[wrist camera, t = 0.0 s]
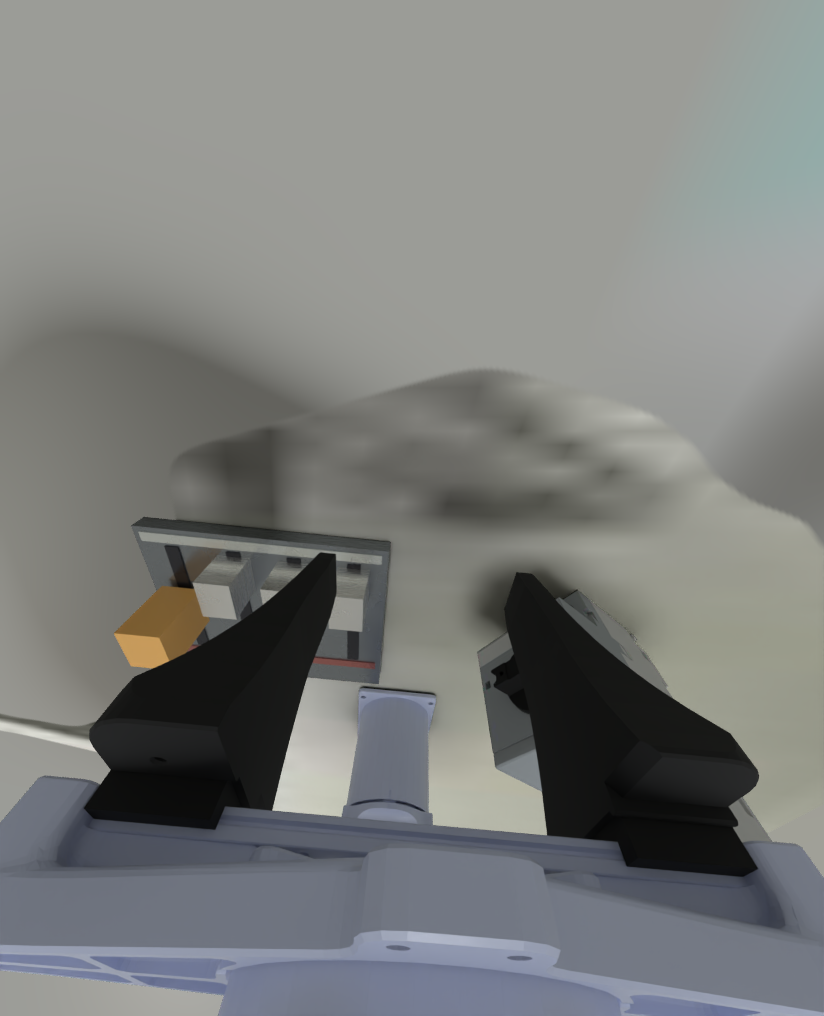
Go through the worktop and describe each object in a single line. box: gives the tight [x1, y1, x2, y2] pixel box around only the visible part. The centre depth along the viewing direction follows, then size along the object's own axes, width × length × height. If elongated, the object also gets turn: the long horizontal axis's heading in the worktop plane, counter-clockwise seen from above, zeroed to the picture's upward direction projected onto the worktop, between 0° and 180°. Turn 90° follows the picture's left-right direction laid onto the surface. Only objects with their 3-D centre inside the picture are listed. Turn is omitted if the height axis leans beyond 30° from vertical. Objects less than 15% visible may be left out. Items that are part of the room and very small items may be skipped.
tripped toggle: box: [114, 586, 210, 668], centre depth 24 cm, size 4×3×4 cm
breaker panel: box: [131, 517, 390, 684], centre depth 26 cm, size 16×18×4 cm
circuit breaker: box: [477, 590, 772, 843], centre depth 21 cm, size 8×14×15 cm, turn 50°
